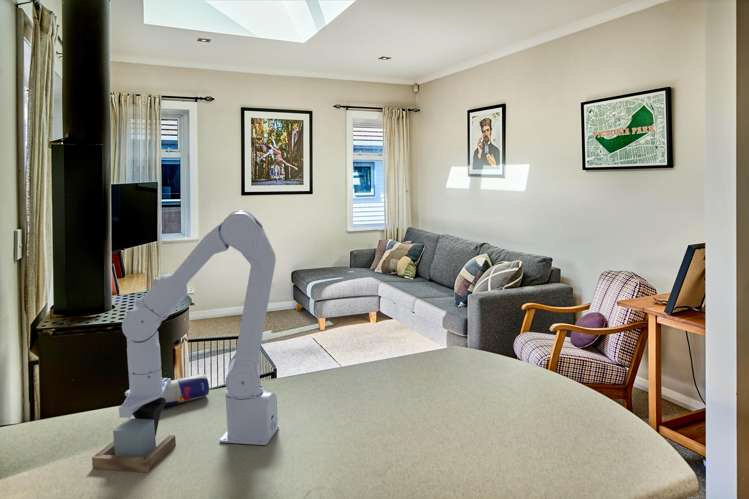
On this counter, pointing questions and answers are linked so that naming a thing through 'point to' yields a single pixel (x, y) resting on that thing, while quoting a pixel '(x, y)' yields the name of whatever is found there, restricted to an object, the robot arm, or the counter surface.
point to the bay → (132, 458)
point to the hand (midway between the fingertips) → (149, 437)
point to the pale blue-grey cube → (134, 438)
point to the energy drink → (186, 389)
